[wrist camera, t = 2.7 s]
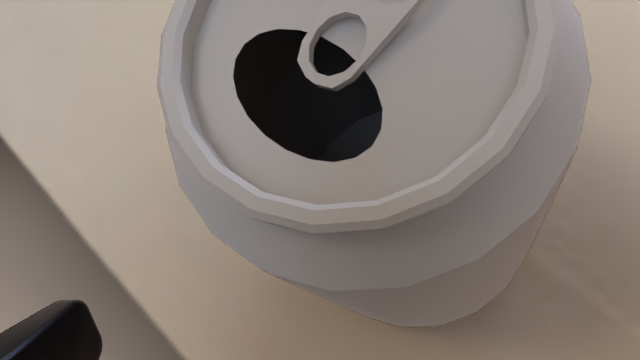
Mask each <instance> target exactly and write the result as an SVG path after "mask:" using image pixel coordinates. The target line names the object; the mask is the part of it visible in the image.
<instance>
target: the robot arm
mask: <svg viewBox="0 0 640 360" xmlns="http://www.w3.org/2000/svg"><path fill="white" fill-rule="evenodd" d="M101 352H102V338H101V335H100V333H99V330H98V328H97V326H96V324H95V322H94V319H93V317H92V315H91V313H90V311H89V308H88V306H87V305H86V304H85V303H84V302H83V301H81V300H60V301H57V302H54V303H52V304H50V305H49V306H47V307H45V308H43V309H42V310H40V311H38V312H37V313H35V314H33V315H31V316H30V317H28V318H26V319H24V320H23V321H21V322H19V323H18V324H16V325H14V326H12V327H10V328H9V329H7V330H5V331H4V332H2V333H0V360H99V358H100V355H101Z"/></svg>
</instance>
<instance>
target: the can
mask: <svg viewBox="0 0 640 360" xmlns="http://www.w3.org/2000/svg"><path fill="white" fill-rule="evenodd" d="M590 84H591V75H590V69H589V63H588V58H587V52H586V46H585V40H584V35H583V29H582V23H581V18H580V14H579V13H578V11H577V9H576V8H575V6H574V5H573V3H572V1H571V0H175V2H174V4H173V7H172V9H171V12H170V14H169V17H168V19H167V22H166V25H165V27H164V30H163V32H162V35H161V45H160V57H159V69H158V82H157V90H158V94H159V98H160V101H161V105H162V109H163V113H164V117H165V121H166V134H167V137H168V141H169V145H170V149H171V153H172V157H173V161H174V165H175V169H176V173H177V177H178V181H179V185H180V187H181V188H182V190H183V191H184V193H185V194H186V196H187V197H188V198H189V200H190V201H191V203H192V204H193V206H194V207H195V209H196V210H197V212H198V213H199V215H200V216H201V218H202V219H203V221H204V222H205V224H206V225H207V227H208V228H209V230H210V231H211V233H212V234H213V235H214V236H216V237H217V238H218V239H220V240H221V241H222V242H224V243H225V244H227V245H228V246H229V247H231V248H232V249H234V250H235V251H236V252H238V253H239V254H240V255H242V256H243V257H245V258H246V259H247V260H249V261H250V262H252V263H253V264H254V265H256V266H257V267H258V268H260V269H261V270H263V271H264V272H266V273H268V274H271V275H273V276H275V277H277V278H280V279H282V280H284V281H286V282H289V283H291V284H293V285H295V286H298V287H300V288H302V289H305V290H307V291H309V292H311V293H314V294H316V295H318V296H320V297H323V298H325V299H327V300H329V301H332V302H334V303H336V304H339V305H341V306H343V307H345V308H348V309H350V310H352V311H354V312H357V313H359V314H361V315H363V316H366V317H369V318H373V319H376V320H380V321H383V322H386V323H390V324H393V325H396V326H400V327H415V326H440V325H443V324H446V323H449V322H451V321H454V320H457V319H460V318H462V317H465V316H468V315H470V314H473V313H476V312H477V311H479V310H480V309H481V308H482V307H484V306H485V305H486V304H487V303H489V302H490V301H491V300H492V299H493V298H495V297H496V296H497V295H498V294H500V293H501V292H502V291H503V290H505V289H506V288H507V287H508V285H509V283H510V282H511V280H512V279H513V277H514V275H515V274H516V272H517V270H518V269H519V267H520V266H521V264H522V262H523V261H524V259H525V258H526V256H527V254H528V252H529V250H530V248H531V246H532V243H533V241H534V239H535V237H536V235H537V233H538V231H539V228H540V226H541V224H542V222H543V220H544V218H545V216H546V214H547V211H548V209H549V207H550V205H551V203H552V201H553V199H554V197H555V194H556V192H557V190H558V188H559V186H560V184H561V182H562V179H563V177H564V175H565V173H566V171H567V169H568V167H569V165H570V162H571V160H572V158H573V156H574V154H575V152H576V150H577V147H578V142H579V137H580V132H581V128H582V123H583V118H584V113H585V108H586V103H587V98H588V93H589V88H590Z"/></svg>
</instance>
